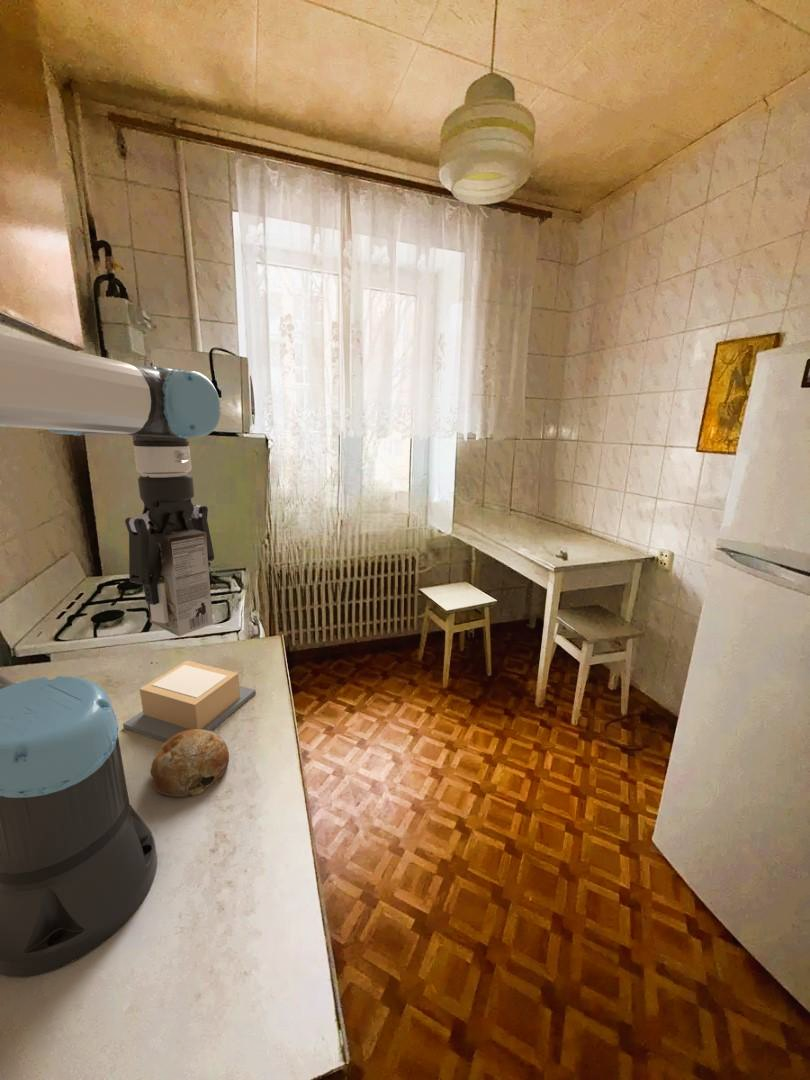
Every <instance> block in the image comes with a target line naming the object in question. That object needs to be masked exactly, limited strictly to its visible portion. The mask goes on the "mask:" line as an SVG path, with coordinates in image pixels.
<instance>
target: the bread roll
mask: <svg viewBox="0 0 810 1080" xmlns="http://www.w3.org/2000/svg"><path fill="white" fill-rule="evenodd" d="M229 762H230V753H229V749H228V745H227V743H226V741H225V740H224V738H223V737H222V736H220V735H219V734H217V733H216V732H213V730H212V731H207V730H202V729H192V730H186V731H183V732H180V733H178V734H176V735H174V736H173V737H171V738H170V739H168V740H167V741H166V742H163V743H162V745H161V746H160V748H159V750H158V751H157V752H156V754H155V756H154V758H153V760H152V763H151V766H150V767H151V768H150V772H149V773H150V775H151V784H152V786H153V787H154V790H155V791H156V792H157V793H160V794H162V795H164V796H169V797H175V798H183V797H187V796H190V795H191V796H193V797H196V796H198V795H201V794H202V793H203V792H204V791H205V790H206V789H208V787H210V786H212V785H213V784H214V783H215V782H216V781H217V780H218V779H219V778H221V777H222V776H223V775H224V773H226V771H227V769H228V765H229Z"/></svg>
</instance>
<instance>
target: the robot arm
mask: <svg viewBox="0 0 810 1080" xmlns="http://www.w3.org/2000/svg"><path fill="white" fill-rule="evenodd" d="M221 414H222V413H221V399H220V397H219V394H218V391H217V389H216V388H215V385H214V384H213V382H212V381H211V380H210V379H209V378H208V377H207V376H205V375H204V374H202V373H201V372H198V371H193V370H182V369H180V368H174V369H172V368H168V367H162V366H153V365H151V366H150V365H138V364H134V363H127V362H125V361H120V360H117V359H112V358H107V357H103V356H99V355H96V354H94V355H93V354H89V353H85V352H82V351H78V350H77V351H76V350H73V349H68V348H64V347H59V346H56V345H55V346H54V345H51V344H50V345H49V344H46V343H42V342H37V341H34V340H33V341H32V340H28V339H23V338H21V337H20V338H19V337H14V336H11V335H6V334H2V333H1V334H0V427H3V428H20V429H22V428H23V429H37V430H38V429H39V430H47V431H48V432H50V433H53V434H57V435H73V436H74V437H76V436H77V437H79V436H82V435H84V436H86V435H87V436H89V435H91V436H125V437H126V436H128V437H130V436H131V439H132V445H133V450H134V451H133V452H134V459H135V462H134V463H135V469H136V472H137V473H139V474H141V475H139V477H138V478H137V482H138V491H139V498H140V499H141V501H142V502H143V510H142V514H141V515H137V516H136V517H131V516H130V517H127V518H125V520H124V523H125V526H126V528H127V532H128V558H129V560H128V562H129V563H128V564H129V567H128V568H129V571H128V572H129V573H128V575H129V576H128V577H129V579H128V580H129V582H130V583H133V584H136V585H137V584H138V585H143V591H144V598H145V599H144V600H145V603H146V604H147V605H148V604H150V610H151V618H152V621H155V622H160V623H167V622H169V619H168V611H167V602H166V593H165V585H164V583H162V582H159V580H160V575H161V570H162V561H161V553H160V546H159V545H158V543H157V542H156V541H155V540H154V538H153V537H152V535H151V534H152V533H154V532H157V533H162V535H164V536H165V535H168V534H172V532H174V531H179V530H184V529H186V530H191V529H194V530H198V531H202V532H206V542H207V554H208V567H209V568H210V567H211V562H213V561H214V560H215V553H214V548H213V544H212V538H211V533H210V527H209V522H208V511H209V509H208V507H207V506H206V505H196V504H193V502H192V499H193V498H194V497H195V489H194V487H195V486H194V479H193V476H192V475H191V474H188V473H189V472H191V471H192V460H191V450H190V438H203V437H206V436H208V435H210V434H211V433H213V431H215V430H216V428H217V426H218V424H219V421H220V419H221ZM147 529H149V530H147ZM150 575H151V576H150ZM125 775H126V773H125V769H124V764H123V758H122V751H121V745H120V738H119V721H118V719H117V715H116V714H115V711H114V708H113V706H112V702H111V699H110V697H109V695H108V693H107V691H106V690H105V689H104V688H103V687H101V686H100V685H99V684H97V683H96V682H94V681H92V680H88V679H86V678H82V677H77V676H71V675H70V676H68V675H58V676H56V677H55V678H52V679H49V678H48V677H46V676H43V677H38V678H32V679H28V680H24V681H20V682H15V681H13V680H12V679H10V678H8V677H7V676H5V675H4V674H2V673H1V672H0V974H1V975H4V976H8V977H20V978H22V977H31V976H32V977H33V976H36V975H42V974H45V973H47V972H51V971H54V970H57V969H59V968H62V967H64V966H66V965H69V964H70V963H73V962H74V961H76V960H78V959H80V958H82V957H83V956H86V955H87V954H89V952H91V951H93V950H95V949H96V948H97V947H99V946H100V945H101V944H103V943H104V942H105V941H107V940H108V939H109V938H110V937H112V935H114V934H115V933H116V932H117V931H118V930H119V929H120V928H122V926H123V925H124V924H125V923H126V922H127V921H128V920H129V919H130V918H131V917H132V916H133V914H134V913H135V912H136V911H137V910H138V908H139V907H140V906H141V904H142V903H143V901H144V900H145V898H146V896H147V894H148V893H149V891H150V889H151V887H152V884H153V882H154V879H155V876H156V873H157V868H158V854H157V846H156V842H155V838H154V835H153V832H152V831H151V829H150V828H149V826H148V825H147V824H146V823H145V821H144V820H143V819H142V818H141V816H140V815H139V814H138V812H137V811H136V810H135V809H134V808H133V806H132V805H131V804H130V799H129V794H128V787H127V782H126V776H125Z"/></svg>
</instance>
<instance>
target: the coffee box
mask: <svg viewBox="0 0 810 1080" xmlns="http://www.w3.org/2000/svg"><path fill="white" fill-rule="evenodd" d="M147 530H149V529H147ZM151 535H152V537H153V538H154V540H155V541H156V542H157V543H158V545H159V546H160V553H161V561H162V570H161V575H160V580H159V582H162V583H164V585H165V593H166V602H167V611H168V619H169V622H167V623H160V622H155V621H152V618H151V610H150V604H147V607H148V609H147V610H148V616H149V622H150V623H151V624H153V625H155V626H156V627H159V628H161V629H163V630H165V631H167V632H169V633H171V634H173V635H175V636H177V637H181V636H185V635H187V634H190V633H192V632H195V631H197V630H201V629H203V628H206V627H209V626H211V625H213V624H214V620H213V607H212V597H211V596H212V595H211V582H210V569H209V568H210V567H208V554H207V542H206V532H202V531H198V530H194V529H191V530H186V529H184V530H179V531H174V532H172V534H168V535H165V536H164V535H162V533H157V532H154V533H152V534H151ZM150 576H151V575H150Z"/></svg>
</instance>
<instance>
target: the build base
mask: <svg viewBox="0 0 810 1080" xmlns="http://www.w3.org/2000/svg"><path fill="white" fill-rule="evenodd" d="M256 694H257V692H256V689H254V688H251V687H247V686H242V685H240V678H239V672H236V671H235V672H234V671H232V670H231V671H230V670H227V669H223V668H219V667H215V666H212V665H211V666H210V665H208V664H203V663H199V662H195V661H190V660H185V661H183V662H181V663H180V664H178V665H176V666H174V667H173V668H172V669H170V670H169V671H167V672H164V674H162V675H160V676H158V677H157V678H155V679H153V680H151V681H150V682H148V683H147V684H145V685H143V686H141V687H140V688H139V695H140V700H141V706H142V707H141V708H142V711H140V712H139V713H137V714H135V715H134V716H133V717H131V718H130V719H128V720H126V721H125V722H123V723H122V725H123V729H126V730H128V731H131V732H134V733H138V734H141V735H143V736H147V737H150V738H151V739H152V738H153V739H155V740H158V741H162V742H163V743H165V742H166V741H167V740H168V739H170V738H171V737H173V736H174V735H176V734H178V733H180V732H183V731H186V730H192V729H202V730H207V731H212V732H213V730H214V729H215V728H217V727H218V726H219V725H220V724H222V723H223V722H224V721H225V720H226V719H227V718H228V717H230V716H231V715H232V714H233V713H235V712H236V711H237V710H238V709H239V708H241V707H242V706H243V705H244V704H245V703H246V702H248V701H249V700H250V699H251V698H253V697H254V696H255V695H256Z"/></svg>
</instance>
